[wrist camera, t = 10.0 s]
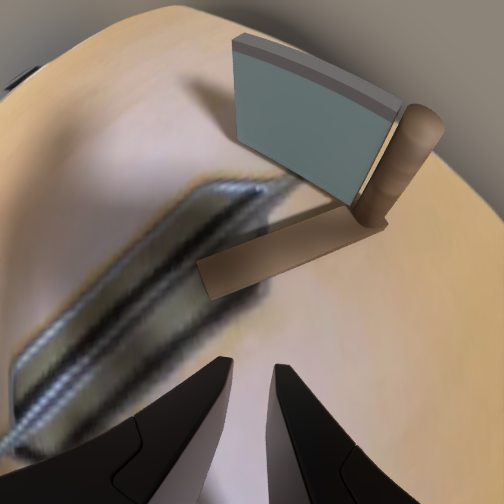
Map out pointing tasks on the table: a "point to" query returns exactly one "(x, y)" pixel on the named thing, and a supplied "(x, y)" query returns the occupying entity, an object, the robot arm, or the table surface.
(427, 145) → the brown l-shaped piece
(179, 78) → the table surface
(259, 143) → the panel
